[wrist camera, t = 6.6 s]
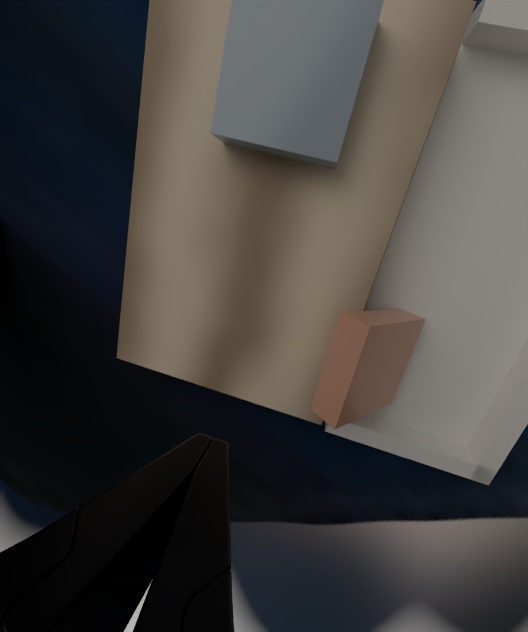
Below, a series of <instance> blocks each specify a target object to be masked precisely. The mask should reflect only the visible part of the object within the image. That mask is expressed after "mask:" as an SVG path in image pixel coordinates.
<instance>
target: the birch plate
mask: <svg viewBox="0 0 528 632" xmlns="http://www.w3.org/2000/svg"><path fill="white" fill-rule="evenodd" d="M231 2H232V0H150V2H149V13H148V23H147V34H146V45H145V56H144V67H143V78H142V89H141V99H140V110H139V121H138V132H137V143H136V154H135V164H134V175H133V186H132V197H131V208H130V219H129V229H128V240H127V251H126V262H125V273H124V284H123V295H122V305H121V316H120V327H119V338H118V349H117V358H119V359H122V360H125V361H128V362H131V363H134V364H137V365H140V366H143V367H146V368H149V369H152V370H155V371H158V372H161V373H164V374H167V375H170V376H173V377H176V378H179V379H182V380H186V381H189V382H192V383H195V384H198V385H201V386H204V387H207V388H210V389H213V390H216V391H219V392H222V393H225V394H228V395H231V396H234V397H237V398H240V399H243V400H246V401H249V402H252V403H256V404H259V405H262V406H265V407H268V408H271V409H274V410H277V411H280V412H283V413H286V414H289V415H292V416H295V417H298V418H301V419H304V420H307V421H310V422H313V423H316V424H319V425H322V422H323V419H321V418H320V417H319V416H318V415H317V414H315V413H314V412H313V411H312V410H311V407H312V403H313V400H314V397H315V394H316V390H317V387H318V384H319V381H320V377H321V374H322V371H323V368H324V364H325V361H326V358H327V355H328V351H329V348H330V345H331V341H332V338H333V335H334V332H335V328H336V325H337V322H338V319H339V315H340V312H349V311H363V310H364V307H365V304H366V302H367V299H368V296H369V293H370V291H371V288H372V285H373V283H374V280H375V277H376V274H377V272H378V269H379V266H380V263H381V261H382V258H383V255H384V252H385V250H386V247H387V244H388V242H389V239H390V236H391V233H392V231H393V228H394V225H395V222H396V220H397V217H398V214H399V211H400V209H401V206H402V203H403V201H404V198H405V195H406V192H407V190H408V187H409V184H410V181H411V179H412V176H413V173H414V170H415V168H416V165H417V162H418V159H419V157H420V154H421V151H422V149H423V146H424V143H425V140H426V138H427V135H428V132H429V129H430V127H431V124H432V121H433V118H434V116H435V113H436V110H437V108H438V105H439V102H440V99H441V97H442V94H443V91H444V88H445V86H446V83H447V80H448V77H449V75H450V72H451V69H452V67H453V64H454V61H455V58H456V56H457V53H458V50H459V47H460V45H461V42H462V39H463V36H464V34H465V31H466V28H467V25H468V23H469V20H470V17H471V15H472V12H473V9H474V6H475V4H476V1H471V0H384V2H383V6H382V10H381V14H380V18H379V22H378V25H377V29H376V32H375V36H374V39H373V43H372V46H371V50H370V53H369V57H368V60H367V63H366V67H365V70H364V74H363V77H362V81H361V84H360V88H359V91H358V95H357V98H356V102H355V105H354V108H353V112H352V115H351V119H350V122H349V126H348V129H347V133H346V136H345V140H344V143H343V147H342V150H341V153H340V157H339V160H338V164H337V167H336V169H333V168H329V167H324V166H320V165H316V164H312V163H307V162H303V161H299V160H295V159H290V158H286V157H282V156H278V155H273V154H269V153H265V152H261V151H256V150H252V149H248V148H244V147H239V146H235V145H231V144H227V143H223V142H221V141H220V140H219V139H217V138H216V137H215V136H213V135H212V134H211V133H210V132H211V126H212V120H213V114H214V107H215V101H216V95H217V89H218V82H219V76H220V70H221V64H222V58H223V51H224V45H225V39H226V33H227V26H228V20H229V14H230V8H231Z"/></svg>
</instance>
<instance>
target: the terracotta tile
mask: <svg viewBox="0 0 528 632" xmlns="http://www.w3.org/2000/svg"><path fill="white" fill-rule="evenodd" d="M425 320H426V319H425V318H422V317H419V316H417V315H414V314H412V313H409V312H407V311H404V310H402V309H399V308H393V309H378V310H364V311H349V312H340V315H339V319H338V322H337V325H336V328H335V332H334V335H333V338H332V341H331V345H330V348H329V351H328V355H327V358H326V361H325V364H324V368H323V371H322V374H321V377H320V381H319V384H318V387H317V390H316V394H315V397H314V400H313V403H312V407H311V410H312V411H313V412H314V413H315V414H317V415H318V416H319V417H320V418H321V419H323V420H324V421H325V422H326V423H327V424H329V425H330V426H331V427H332V428H334V429H337V428H339V427H341V426H344V425H346V424H348V423H350V422H352V421H354V420H357V419H359V418H361V417H363V416H365V415H368V414H370V413H372V412H374V411H376V410H378V409H381V408H383V407H385V406H387V405H389V404H392V401H393V399H394V397H395V394H396V392H397V389H398V387H399V384H400V382H401V379H402V377H403V374H404V372H405V369H406V367H407V364H408V362H409V359H410V357H411V355H412V352H413V350H414V347H415V345H416V342H417V340H418V337H419V335H420V332H421V330H422V327H423V325H424V322H425Z"/></svg>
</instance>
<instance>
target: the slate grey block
mask: <svg viewBox="0 0 528 632" xmlns="http://www.w3.org/2000/svg"><path fill="white" fill-rule="evenodd" d="M383 2H384V0H232V2H231V8H230V14H229V20H228V26H227V33H226V39H225V45H224V51H223V58H222V64H221V70H220V76H219V82H218V89H217V95H216V101H215V107H214V114H213V120H212V126H211V132H210V133H211V134H212V135H213V136H215V137H216V138H217V139H219V140H220V141H221V142H223V143H227V144H231V145H235V146H239V147H244V148H248V149H252V150H256V151H261V152H265V153H269V154H273V155H278V156H282V157H286V158H290V159H295V160H299V161H303V162H307V163H312V164H316V165H320V166H324V167H329V168H333V169H336V167H337V164H338V160H339V157H340V153H341V150H342V147H343V143H344V140H345V136H346V133H347V129H348V126H349V122H350V119H351V115H352V112H353V108H354V105H355V102H356V98H357V95H358V91H359V88H360V84H361V81H362V77H363V74H364V70H365V67H366V63H367V60H368V57H369V53H370V50H371V46H372V43H373V39H374V36H375V32H376V29H377V25H378V22H379V18H380V14H381V10H382V6H383Z"/></svg>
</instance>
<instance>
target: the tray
mask: <svg viewBox="0 0 528 632" xmlns="http://www.w3.org/2000/svg"><path fill="white" fill-rule="evenodd" d="M393 308H399V309H402V310H404V311H407V312H409V313H412V314H414V315H417V316H419V317H422V318H425V319H426V320H425V322H424V325H423V327H422V330H421V332H420V335H419V337H418V340H417V342H416V345H415V347H414V350H413V352H412V355H411V357H410V359H409V362H408V364H407V367H406V369H405V372H404V374H403V377H402V379H401V382H400V384H399V387H398V389H397V392H396V394H395V397H394V399H393V401H392V404H389V405H387V406H385V407H383V408H381V409H378V410H376V411H374V412H372V413H370V414H368V415H365V416H363V417H361V418H359V419H357V420H354V421H352V422H350V423H348V424H346V425H344V426H341V427H339V428H337V429H334V428H332V427H331V426H330V425H329V424H327V423H326V422H325V431H326V432H329V433H332V434H335V435H338V436H341V437H344V438H347V439H350V440H353V441H356V442H359V443H362V444H365V445H368V446H371V447H374V448H377V449H380V450H383V451H386V452H389V453H392V454H395V455H398V456H401V457H404V458H407V459H410V460H413V461H417V462H420V463H423V464H426V465H429V466H432V467H435V468H438V469H441V470H444V471H447V472H450V473H453V474H456V475H459V476H462V477H465V478H468V479H471V480H474V481H477V482H480V483H483V484H486V485H489V484H490V483H491V481H492V479H493V478H494V476H495V475H496V473H497V471H498V470H499V468H500V467H501V465H502V464H503V462H504V460H505V459H506V457H507V456H508V454H509V452H510V451H511V449H512V448H513V446H514V445H515V443H516V441H517V440H518V438H519V437H520V435H521V433H522V432H523V430H524V429H525V427H526V426H527V424H528V0H482V1H481V2H480V4H479V5H478V7H477V8H476V10H475V11H474V12H473V14H472V15H471V17H470V20H469V23H468V25H467V28H466V31H465V34H464V36H463V39H462V42H461V45H460V47H459V50H458V53H457V56H456V58H455V61H454V64H453V67H452V69H451V72H450V75H449V77H448V80H447V83H446V86H445V88H444V91H443V94H442V97H441V99H440V102H439V105H438V108H437V110H436V113H435V116H434V118H433V121H432V124H431V127H430V129H429V132H428V135H427V138H426V140H425V143H424V146H423V149H422V151H421V154H420V157H419V159H418V162H417V165H416V168H415V170H414V173H413V176H412V179H411V181H410V184H409V187H408V190H407V192H406V195H405V198H404V201H403V203H402V206H401V209H400V211H399V214H398V217H397V220H396V222H395V225H394V228H393V231H392V233H391V236H390V239H389V242H388V244H387V247H386V250H385V252H384V255H383V258H382V261H381V263H380V266H379V269H378V272H377V274H376V277H375V280H374V283H373V285H372V288H371V291H370V293H369V296H368V299H367V302H366V304H365V307H364V310H378V309H393ZM364 310H363V311H364Z"/></svg>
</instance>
